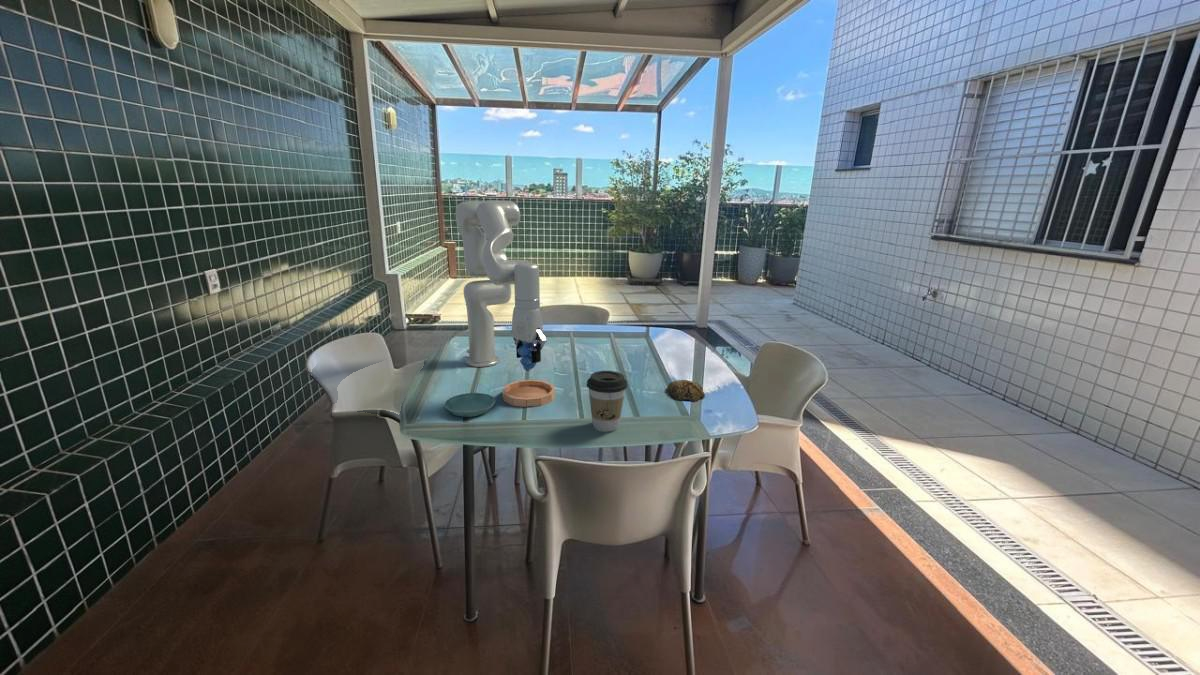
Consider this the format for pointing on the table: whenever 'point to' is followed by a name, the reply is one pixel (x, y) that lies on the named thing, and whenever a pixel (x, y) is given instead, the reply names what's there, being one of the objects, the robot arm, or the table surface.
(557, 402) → the table surface
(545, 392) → the platter
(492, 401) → the saucer
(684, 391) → the bread roll
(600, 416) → the coffee cup
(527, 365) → the grapes
